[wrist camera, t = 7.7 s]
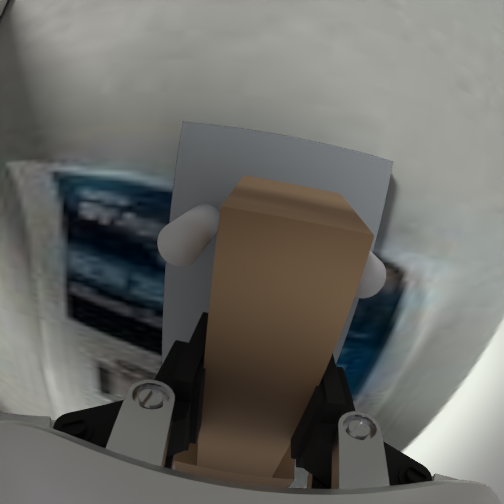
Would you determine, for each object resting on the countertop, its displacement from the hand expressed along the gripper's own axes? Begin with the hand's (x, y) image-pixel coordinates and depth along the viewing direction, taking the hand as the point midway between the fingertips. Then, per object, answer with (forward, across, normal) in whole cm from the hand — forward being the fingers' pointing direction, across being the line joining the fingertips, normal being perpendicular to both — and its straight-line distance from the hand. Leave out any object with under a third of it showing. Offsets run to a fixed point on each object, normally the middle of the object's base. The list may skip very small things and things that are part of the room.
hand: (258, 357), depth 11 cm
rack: (+4, 0, 0) cm, 4 cm away
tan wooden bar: (+1, 0, +1) cm, 2 cm away
